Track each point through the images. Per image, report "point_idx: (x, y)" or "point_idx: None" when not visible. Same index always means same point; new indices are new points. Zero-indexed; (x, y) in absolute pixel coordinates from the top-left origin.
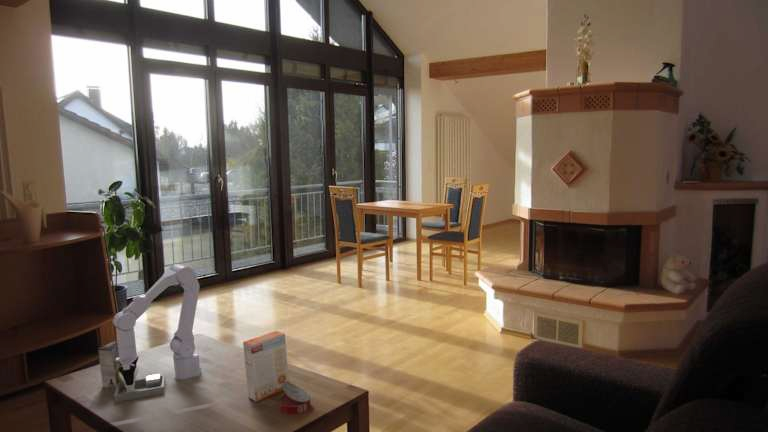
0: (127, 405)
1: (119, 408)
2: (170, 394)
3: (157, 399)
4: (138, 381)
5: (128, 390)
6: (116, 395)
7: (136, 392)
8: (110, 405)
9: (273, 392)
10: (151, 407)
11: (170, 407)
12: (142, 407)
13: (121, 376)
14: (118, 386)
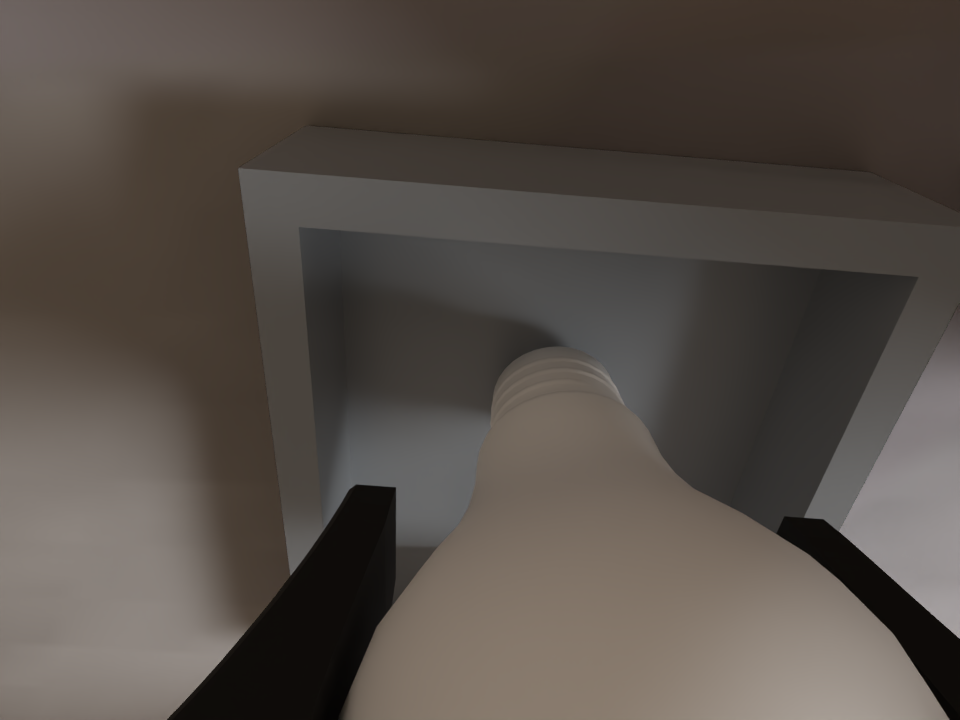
0: (230, 305)
1: (157, 196)
2: None
3: (280, 588)
4: (775, 532)
5: (500, 394)
6: (244, 215)
7: (286, 512)
8: (332, 34)
9: None
10: (89, 537)
11: (52, 657)
12: (112, 463)
13: (430, 609)
14: (739, 246)
